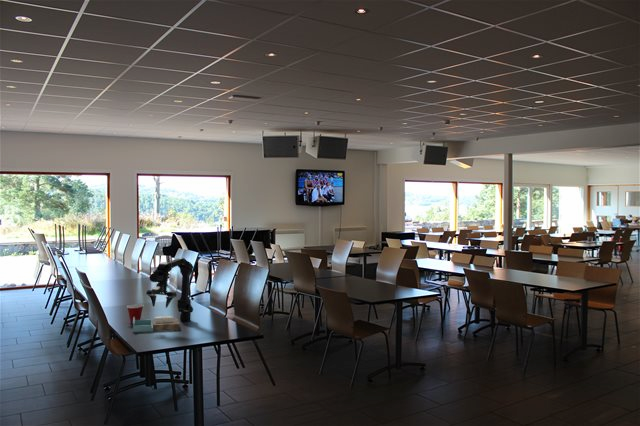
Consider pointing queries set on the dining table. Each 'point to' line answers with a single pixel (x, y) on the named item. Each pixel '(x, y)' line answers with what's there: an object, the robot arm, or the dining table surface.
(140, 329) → the box
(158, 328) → the walnut plate
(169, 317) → the tile
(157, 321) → the tile
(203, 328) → the dining table surface
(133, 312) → the plastic cup
